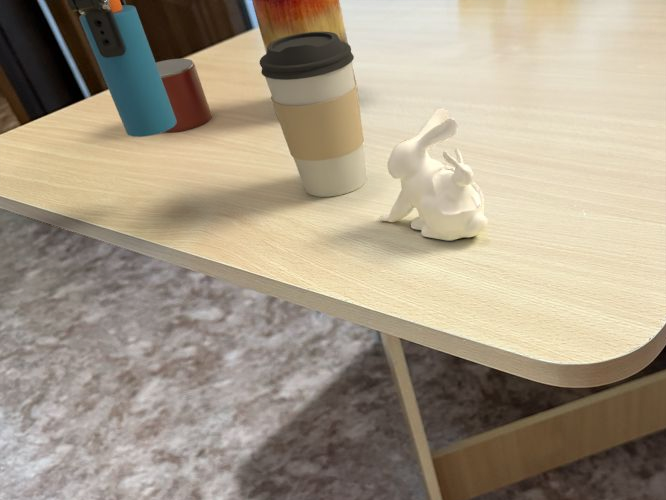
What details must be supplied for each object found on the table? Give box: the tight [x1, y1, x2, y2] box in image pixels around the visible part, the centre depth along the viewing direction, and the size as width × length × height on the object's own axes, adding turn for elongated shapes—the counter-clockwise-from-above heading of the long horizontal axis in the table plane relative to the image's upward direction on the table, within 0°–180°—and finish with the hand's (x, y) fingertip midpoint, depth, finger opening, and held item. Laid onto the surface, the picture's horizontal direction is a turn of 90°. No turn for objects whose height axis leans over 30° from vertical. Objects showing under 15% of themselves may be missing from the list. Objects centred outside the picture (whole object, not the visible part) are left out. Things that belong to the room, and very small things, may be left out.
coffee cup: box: [259, 32, 368, 198], centre depth 70 cm, size 9×9×15 cm
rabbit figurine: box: [377, 107, 489, 241], centre depth 63 cm, size 12×8×10 cm, turn 47°
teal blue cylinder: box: [78, 0, 177, 138], centre depth 67 cm, size 5×5×12 cm
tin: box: [155, 58, 213, 133], centre depth 94 cm, size 8×8×7 cm
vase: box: [251, 0, 359, 93], centre depth 90 cm, size 11×11×20 cm
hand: (120, 46), depth 66 cm, fingers closed on teal blue cylinder, 5 cm apart
